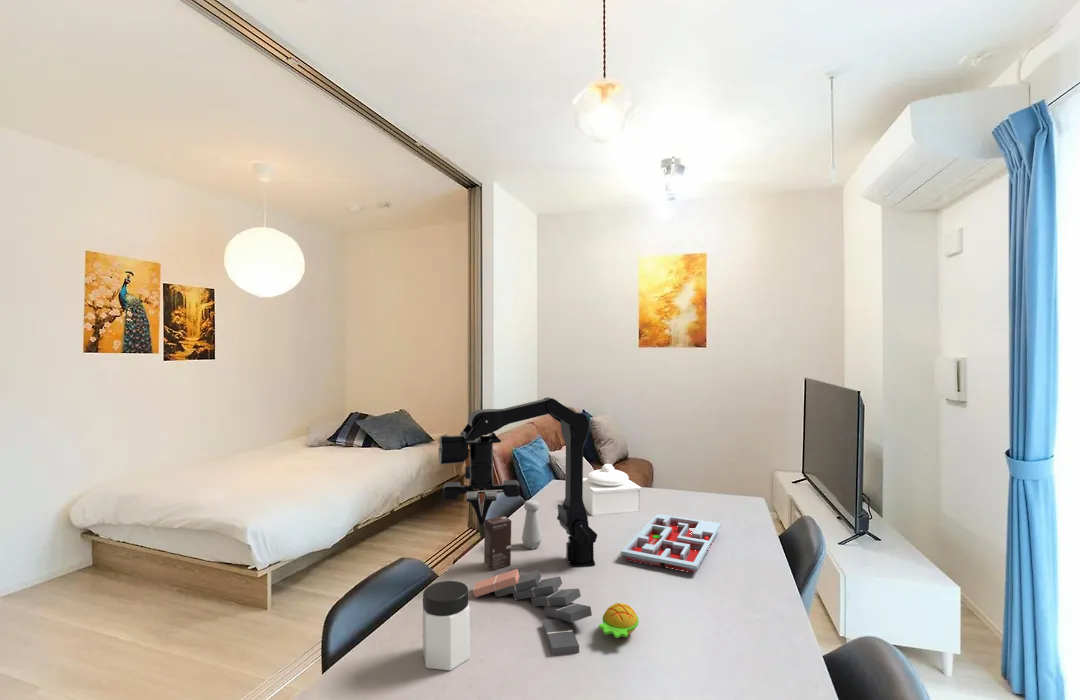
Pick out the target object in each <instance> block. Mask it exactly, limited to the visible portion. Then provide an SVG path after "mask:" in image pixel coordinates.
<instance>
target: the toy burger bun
mask: <svg viewBox="0 0 1080 700" xmlns="http://www.w3.org/2000/svg"><path fill="white" fill-rule="evenodd" d="M602 622H603V623H601V624H599V625H598V629H599V630H601V631H603V632H602V633H603V635H610V634H611V635H612V636H613V637H614V638H616V639H618V638H620V637H623V638H628V637H629V635H630V634H632V633H633V632H634V631H635V629H636V628H637V627H638V625H639V622H640V621H639V616H638V615H637V613H636V612H635V610H634V609H633V607H632V606H630V605H628V604H626V603H623V602H615V603H614V604H612V605H610V606H609V607H608V608H607V609H606V611H605V612H604V613H603V615H602Z"/></svg>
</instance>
